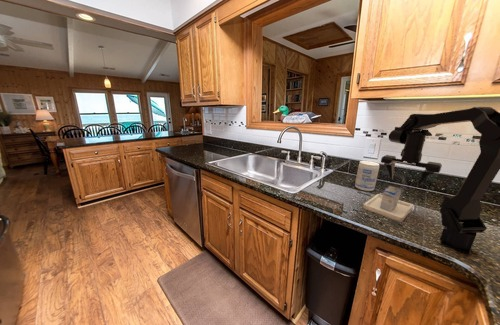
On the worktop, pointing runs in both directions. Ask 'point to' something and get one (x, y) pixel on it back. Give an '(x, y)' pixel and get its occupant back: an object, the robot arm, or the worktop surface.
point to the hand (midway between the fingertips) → (404, 182)
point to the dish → (395, 214)
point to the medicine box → (390, 198)
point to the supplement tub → (367, 175)
